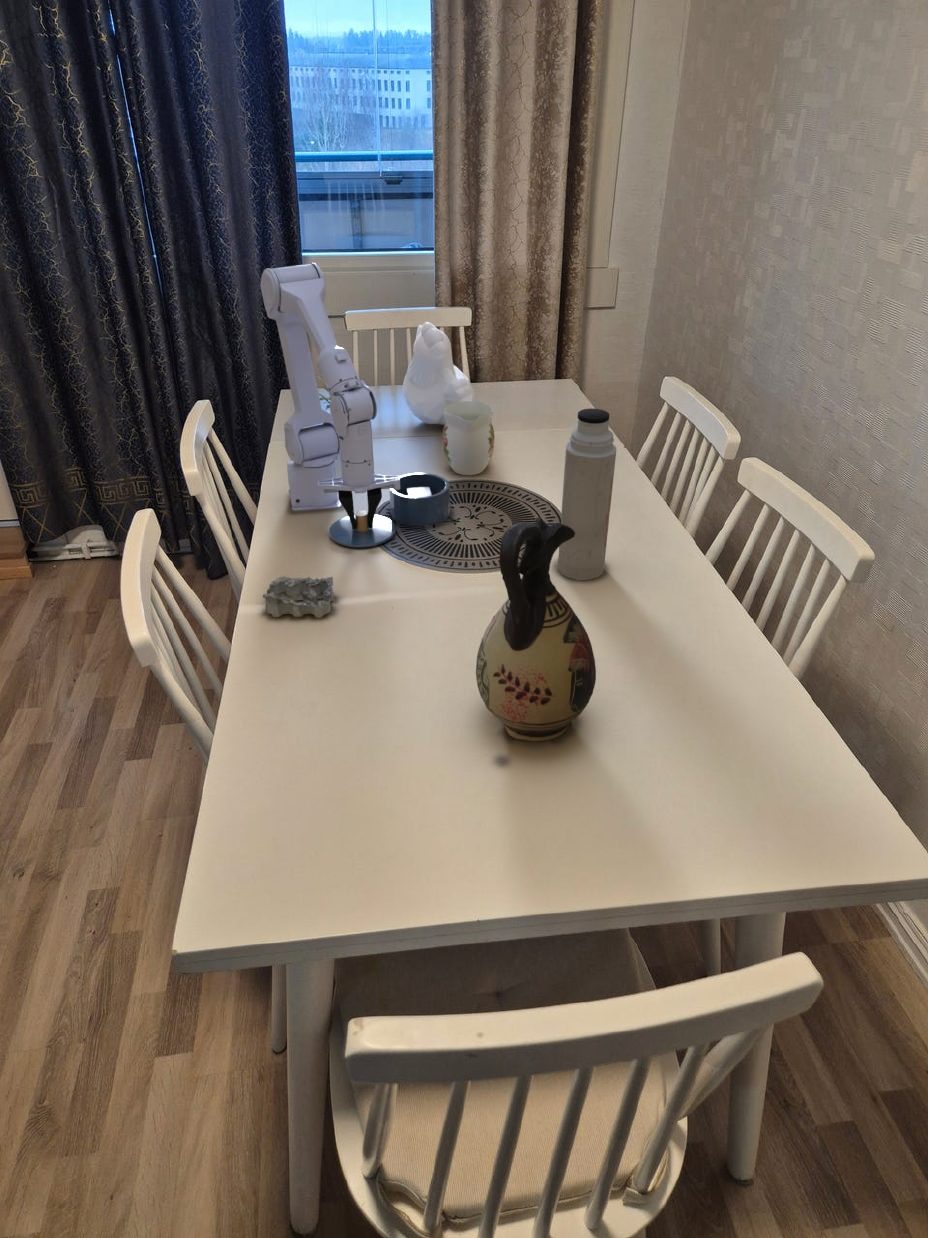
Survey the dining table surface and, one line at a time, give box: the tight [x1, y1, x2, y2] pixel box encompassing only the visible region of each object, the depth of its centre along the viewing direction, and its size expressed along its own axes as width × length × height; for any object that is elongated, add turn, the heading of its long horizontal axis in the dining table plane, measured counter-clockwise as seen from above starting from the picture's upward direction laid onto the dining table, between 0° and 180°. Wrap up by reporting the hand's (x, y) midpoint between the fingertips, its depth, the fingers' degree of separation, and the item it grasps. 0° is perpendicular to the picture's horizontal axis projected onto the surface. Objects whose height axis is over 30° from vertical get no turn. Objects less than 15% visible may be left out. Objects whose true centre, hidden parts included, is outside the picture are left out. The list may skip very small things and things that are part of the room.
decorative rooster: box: [402, 321, 475, 426], centre depth 195 cm, size 25×16×25 cm
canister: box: [388, 472, 451, 527], centre depth 162 cm, size 11×11×6 cm
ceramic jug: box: [475, 516, 597, 762], centre depth 104 cm, size 17×15×30 cm
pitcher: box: [441, 401, 495, 476], centre depth 178 cm, size 11×18×14 cm, turn 2°
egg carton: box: [262, 575, 335, 618], centre depth 135 cm, size 11×8×4 cm
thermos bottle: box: [557, 407, 617, 581], centre depth 138 cm, size 8×8×28 cm
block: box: [406, 486, 432, 497], centre depth 162 cm, size 4×4×4 cm
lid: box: [328, 509, 397, 548], centre depth 155 cm, size 12×12×4 cm
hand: (362, 526), depth 155 cm, fingers closed on lid, 2 cm apart
